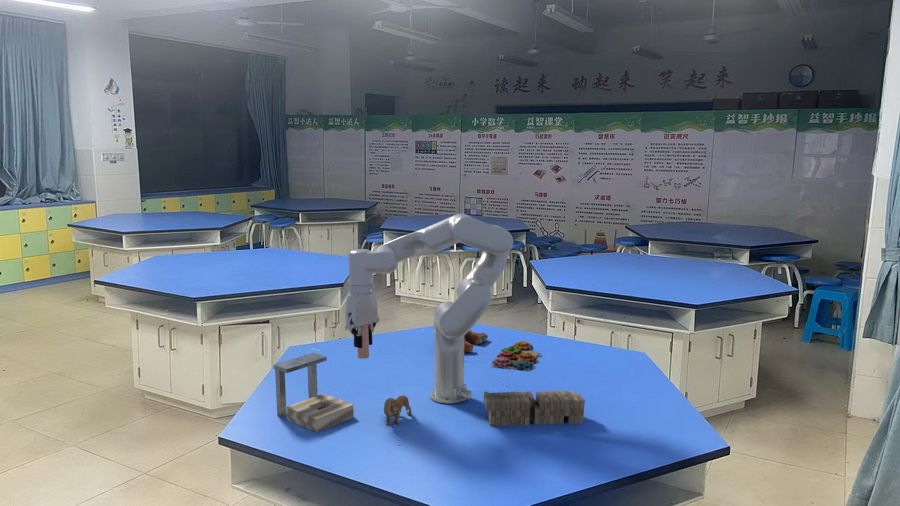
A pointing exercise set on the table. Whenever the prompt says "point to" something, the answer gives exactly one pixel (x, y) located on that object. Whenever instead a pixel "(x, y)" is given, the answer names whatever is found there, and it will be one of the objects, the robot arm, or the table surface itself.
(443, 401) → the robot arm
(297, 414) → the socket block
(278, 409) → the grey piece
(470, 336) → the camel toy
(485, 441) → the table surface
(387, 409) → the lion figurine
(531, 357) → the gear puzzle
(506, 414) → the block tower
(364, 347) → the peg
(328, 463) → the table surface
